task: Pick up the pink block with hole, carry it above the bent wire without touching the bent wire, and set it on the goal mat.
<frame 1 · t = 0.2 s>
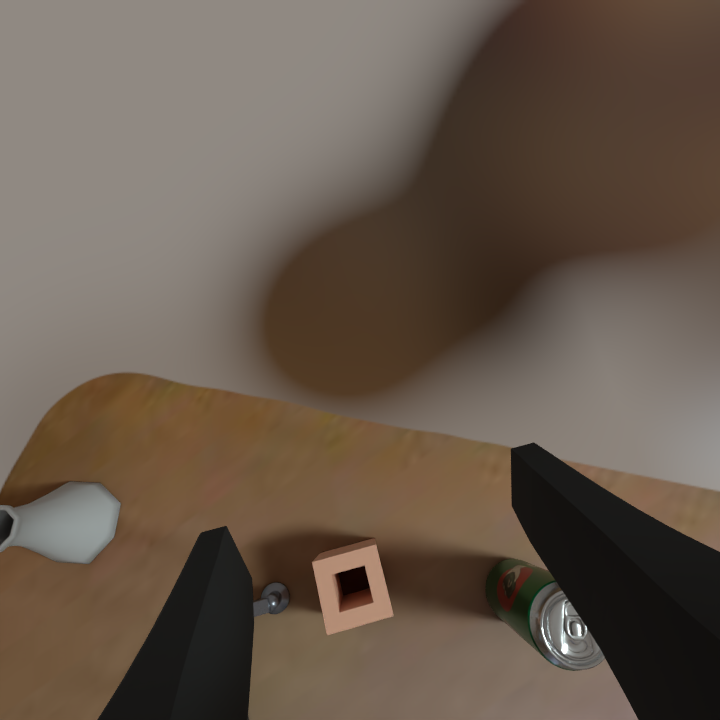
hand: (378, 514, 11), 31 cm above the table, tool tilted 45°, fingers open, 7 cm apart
pink block with hole: (354, 575, 39), on the table
flask: (82, 521, 41), on the table
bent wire: (225, 666, 37), on the table
soda can: (512, 589, 38), on the table
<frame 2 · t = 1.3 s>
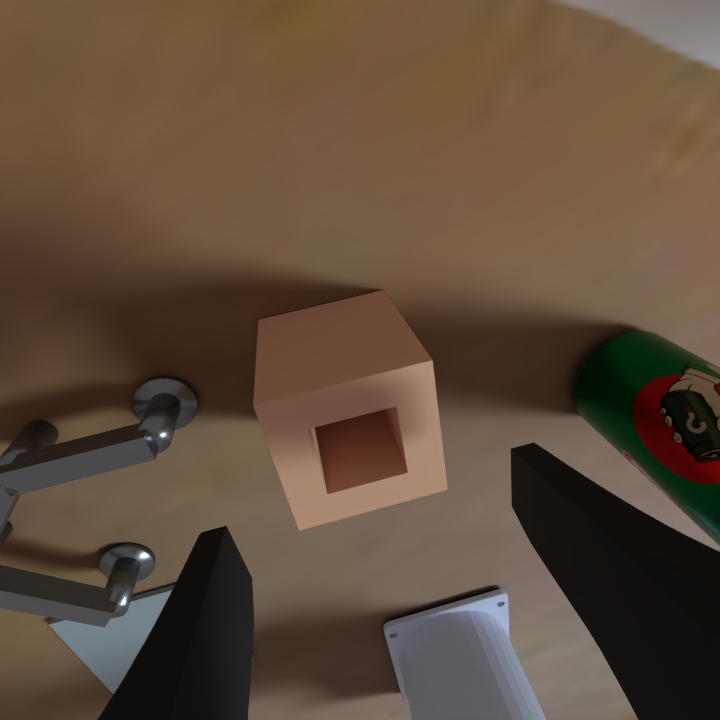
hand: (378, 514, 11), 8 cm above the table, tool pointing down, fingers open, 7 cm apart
pink block with hole: (335, 359, 18), on the table
goal mat: (161, 639, 25), on the table
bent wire: (89, 503, 20), on the table
soda can: (611, 372, 22), on the table
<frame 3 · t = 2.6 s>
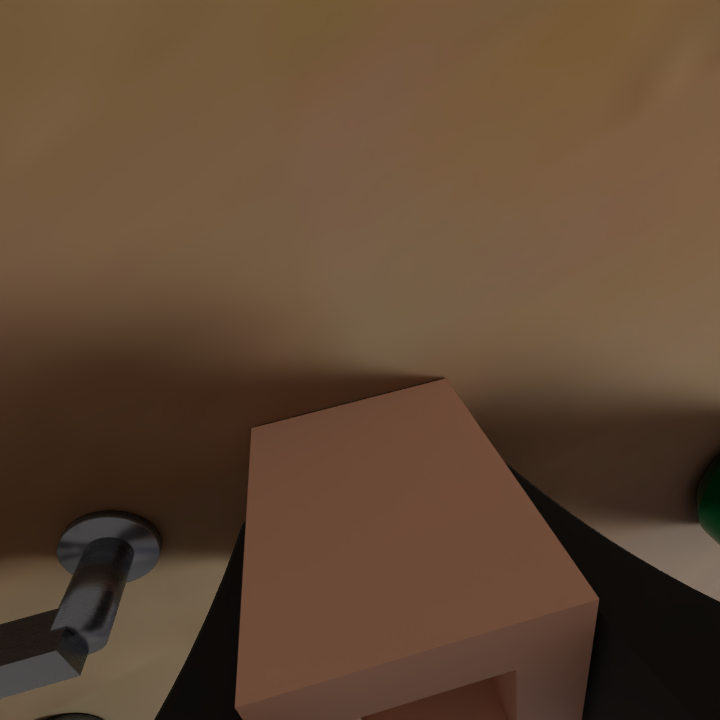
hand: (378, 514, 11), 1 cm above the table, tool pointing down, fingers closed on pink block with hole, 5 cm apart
pink block with hole: (367, 475, 12), on the table, touching gripper
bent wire: (6, 674, 13), on the table
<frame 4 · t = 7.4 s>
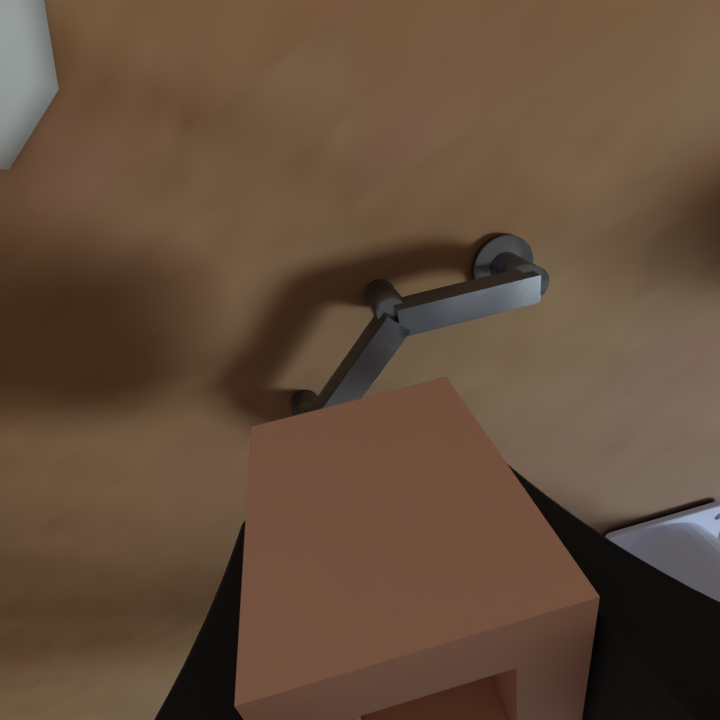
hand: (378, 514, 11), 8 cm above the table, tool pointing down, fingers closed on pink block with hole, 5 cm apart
pink block with hole: (367, 474, 12), point 7 cm above the table, touching gripper
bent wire: (394, 379, 19), on the table
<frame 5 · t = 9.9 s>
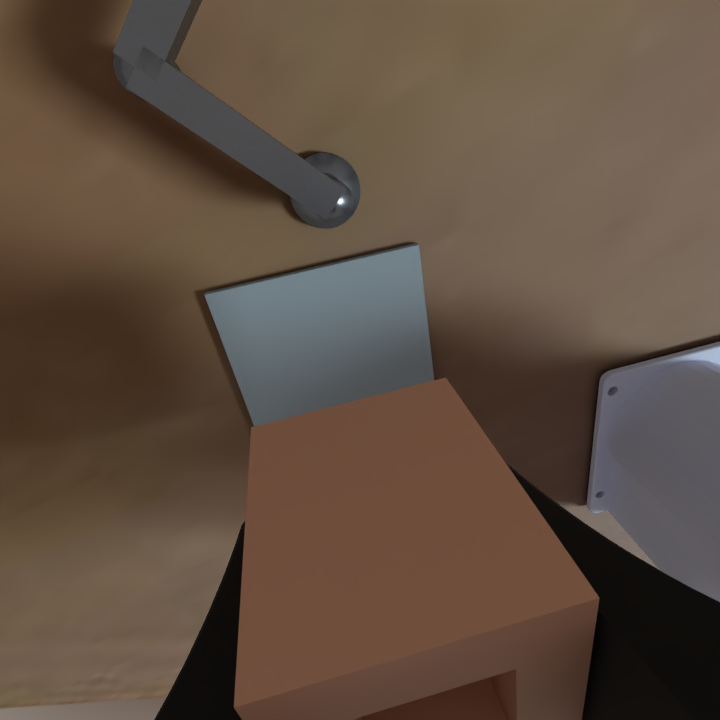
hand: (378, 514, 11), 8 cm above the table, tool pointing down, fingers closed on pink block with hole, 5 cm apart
pink block with hole: (367, 475, 12), point 7 cm above the table, touching gripper
goal mat: (334, 359, 18), on the table
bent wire: (295, 52, 13), on the table
when the fingers open (3 cm above the table, at t = 11.9 s): pink block with hole drops 1 cm, resting on goal mat.
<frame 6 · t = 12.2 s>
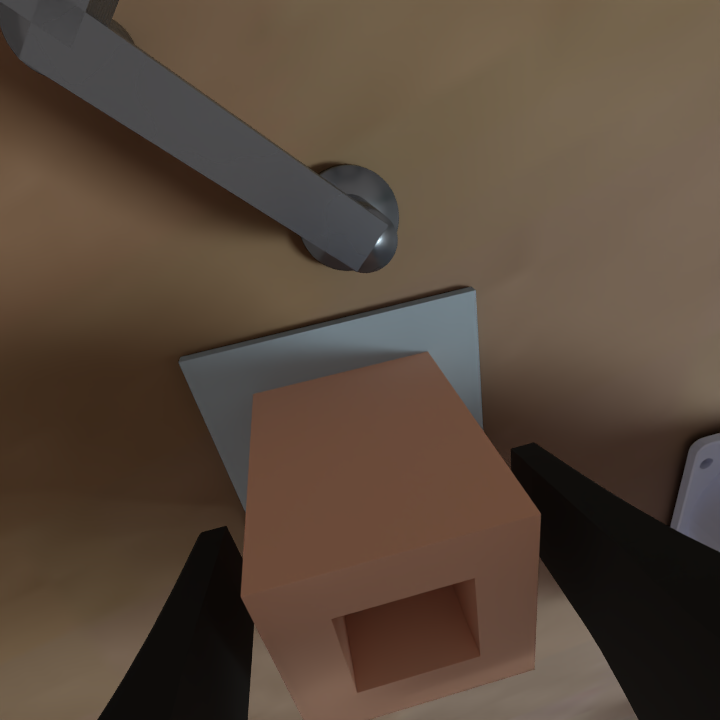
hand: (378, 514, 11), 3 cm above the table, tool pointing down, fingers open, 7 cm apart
pink block with hole: (357, 441, 14), resting on goal mat
goal mat: (356, 435, 14), on the table
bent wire: (308, 14, 9), on the table
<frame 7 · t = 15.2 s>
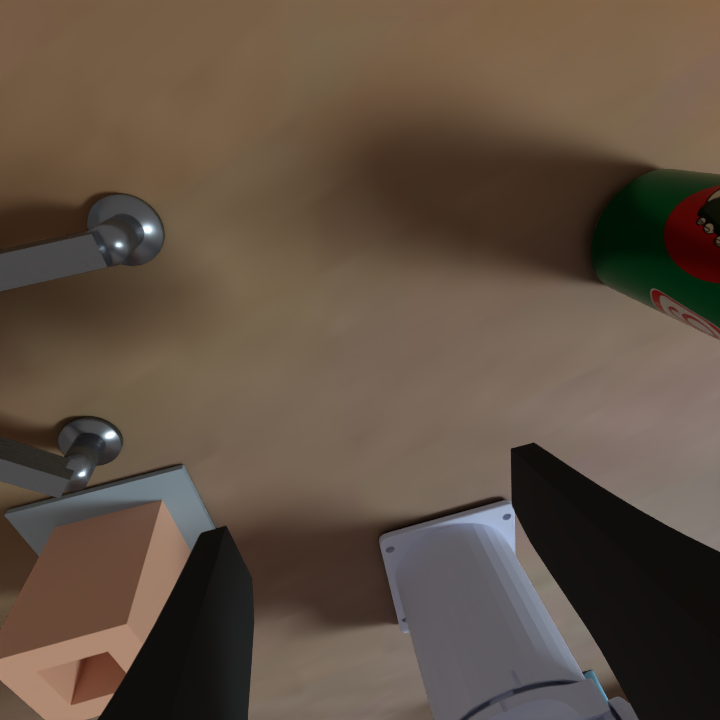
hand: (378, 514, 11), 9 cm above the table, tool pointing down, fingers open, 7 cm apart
pink block with hole: (131, 548, 22), resting on goal mat
goal mat: (133, 543, 22), on the table
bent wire: (43, 360, 17), on the table
soda can: (633, 229, 19), on the table
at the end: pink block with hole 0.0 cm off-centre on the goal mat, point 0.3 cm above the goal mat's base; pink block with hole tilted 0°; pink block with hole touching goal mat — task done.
